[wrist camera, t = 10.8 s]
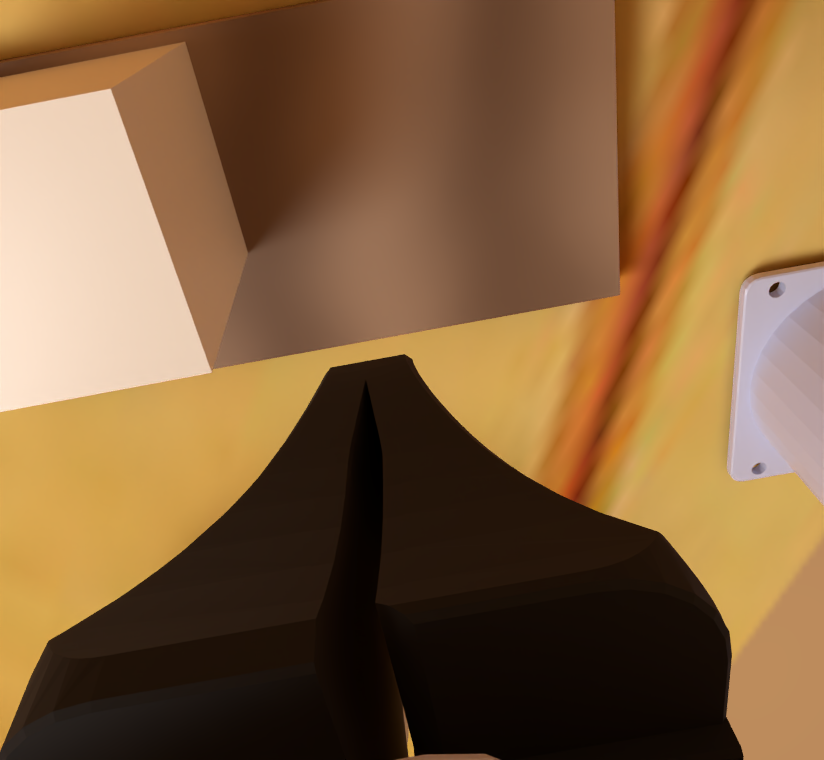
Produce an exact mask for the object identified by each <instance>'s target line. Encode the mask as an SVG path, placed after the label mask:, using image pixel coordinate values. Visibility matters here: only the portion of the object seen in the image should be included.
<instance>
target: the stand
mask: <svg viewBox="0 0 824 760" xmlns="http://www.w3.org/2000/svg"><path fill="white" fill-rule="evenodd" d="M181 42H185V43H186V46H187V50H188V53H189V56H190V60H191V63H192V66H193V70H194V73H195V77H196V80H197V83H198V87H199V90H200V93H201V97H202V100H203V103H204V107H205V110H206V113H207V117H208V120H209V124H210V127H211V130H212V134H213V137H214V140H215V144H216V147H217V150H218V154H219V157H220V161H221V164H222V167H223V171H224V174H225V177H226V181H227V184H228V187H229V191H230V194H231V197H232V201H233V204H234V208H235V211H236V214H237V218H238V221H239V224H240V228H241V231H242V234H243V238H244V241H245V245H246V248H247V251H248V255H247V258H246V262H245V265H244V268H243V271H242V275H241V278H240V281H239V285H238V288H237V291H236V295H235V298H234V301H233V304H232V308H231V311H230V314H229V318H228V321H227V324H226V327H225V331H224V334H223V337H222V341H221V344H220V347H219V350H218V354H217V357H216V360H215V364H214V367H213V369H216V368H222V367H227V366H233V365H238V364H244V363H249V362H255V361H260V360H266V359H271V358H277V357H282V356H288V355H293V354H299V353H304V352H309V351H315V350H320V349H326V348H331V347H337V346H342V345H348V344H353V343H359V342H364V341H370V340H375V339H381V338H386V337H392V336H397V335H403V334H408V333H414V332H419V331H425V330H430V329H436V328H441V327H447V326H452V325H458V324H463V323H469V322H474V321H480V320H485V319H491V318H496V317H502V316H507V315H513V314H518V313H524V312H529V311H535V310H540V309H546V308H551V307H557V306H562V305H568V304H573V303H579V302H584V301H590V300H595V299H601V298H606V297H612V296H617V295H620V271H619V216H618V160H617V105H616V49H615V0H319V1H314V2H308V3H303V4H298V5H293V6H287V7H282V8H277V9H271V10H266V11H261V12H255V13H250V14H245V15H239V16H234V17H229V18H223V19H218V20H213V21H207V22H202V23H197V24H192V25H186V26H181V27H176V28H170V29H165V30H160V31H154V32H149V33H144V34H138V35H133V36H128V37H122V38H117V39H112V40H106V41H101V42H96V43H91V44H85V45H80V46H75V47H69V48H64V49H59V50H53V51H48V52H43V53H37V54H32V55H27V56H21V57H16V58H11V59H6V60H0V77H5V76H10V75H15V74H20V73H25V72H31V71H36V70H41V69H46V68H51V67H57V66H62V65H67V64H72V63H77V62H82V61H88V60H93V59H98V58H103V57H108V56H114V55H119V54H124V53H129V52H134V51H139V50H145V49H150V48H155V47H160V46H165V45H170V44H176V43H181Z"/></svg>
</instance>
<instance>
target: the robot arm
mask: <svg viewBox="0 0 824 760" xmlns="http://www.w3.org/2000/svg"><path fill="white" fill-rule="evenodd" d="M777 282H779V286H778V288H777V289H776V290H775V291H773V292H769V289H770V287H771V286H772V285H773V284H774V283H777ZM758 463H760V464H759V465H758V466H756V467H754V468H753V466H754V465H755V464H758ZM727 471H728V473H729V474H730V476H731V477H732V478H733V479H734V480H736V481H747V480H753V479H758V478H764V477H770V476H775V475H781V474H786V473H792V472H795V473H796V474H797V475H798V476H799V477H800V479H801V480H802V481H803V482H804V483H805V484H806V486H807V487H808V488H809V489H810V490H811V492H812V493H813V494H814V495H815V496H816V497H817V499H818V500H819V501H820V502H821V503H822V504H823V506H824V261H823V262H817V263H812V264H806V265H801V266H795V267H790V268H784V269H779V270H773V271H768V272H762V273H757V274H754V275H751V276H750V277H748V278H747V279H746V280H745V281H744V282H743V284H742V285H741V289H740V296H739V309H738V323H737V337H736V350H735V364H734V378H733V391H732V405H731V418H730V432H729V446H728V459H727ZM731 658H732V652H731V643H730V634H729V630H728V629H727V627H726V625H725V623H724V621H723V619H722V617H721V614H720V612H719V611H718V609H717V607H716V605H715V604H714V602H713V600H712V598H711V597H710V595H709V594H708V592H707V591H706V589H705V588H704V587H703V585H702V584H701V582H700V581H699V580H698V578H697V577H696V576H695V574H694V573H693V572H692V571H691V569H690V568H689V567H688V565H687V564H686V563H685V561H684V560H683V559H682V558H681V557H680V555H679V554H678V553H677V552H676V550H675V549H674V548H673V547H672V546H671V544H670V543H669V542H668V541H667V540H666V538H665V537H664V536H663V535H662V534H661V533H659V532H657V531H654V530H651V529H648V528H645V527H642V526H639V525H636V524H633V523H630V522H627V521H624V520H621V519H618V518H615V517H612V516H609V515H606V514H603V513H600V512H598V511H595V510H593V509H590V508H588V507H586V506H583V505H581V504H579V503H577V502H574V501H572V500H570V499H567V498H565V497H563V496H561V495H559V494H557V493H555V492H553V491H551V490H550V489H548V488H546V487H544V486H542V485H541V484H539V483H537V482H535V481H534V480H532V479H530V478H528V477H526V476H525V475H523V474H522V473H520V472H519V471H517V470H516V469H514V468H513V467H511V466H510V465H508V464H507V463H506V462H504V461H503V460H502V459H500V458H499V457H498V456H496V455H495V454H494V453H492V452H491V451H490V450H489V449H487V448H486V447H485V446H484V445H483V444H481V443H480V442H479V441H478V440H477V439H476V438H475V437H474V436H472V435H471V434H470V433H469V432H468V431H467V430H466V429H465V428H464V427H463V426H462V425H461V424H460V423H459V422H458V421H457V420H456V419H455V418H454V417H453V416H452V415H451V414H450V413H449V412H448V410H447V409H446V408H445V407H444V406H443V405H442V404H441V403H440V401H439V400H438V399H437V398H436V397H435V396H434V394H433V393H432V392H431V390H430V389H429V388H428V386H427V385H426V384H425V382H424V381H423V379H422V378H421V376H420V375H419V373H418V371H417V370H416V368H415V366H414V363H413V360H412V359H411V358H409V357H408V356H406V355H405V354H403V355H398V356H392V357H387V358H381V359H376V360H370V361H365V362H359V363H354V364H348V365H343V366H337V367H332V368H330V369H329V371H328V372H327V373H326V375H325V376H324V378H323V380H322V382H321V384H320V385H319V387H318V389H317V391H316V393H315V394H314V396H313V398H312V400H311V401H310V403H309V405H308V407H307V408H306V410H305V412H304V413H303V415H302V416H301V418H300V420H299V421H298V423H297V424H296V426H295V427H294V429H293V431H292V432H291V434H290V435H289V437H288V438H287V440H286V441H285V443H284V444H283V445H282V447H281V448H280V450H279V451H278V452H277V454H276V455H275V456H274V458H273V459H272V460H271V462H270V463H269V464H268V466H267V467H266V468H265V470H264V471H263V472H262V474H261V475H260V476H259V477H258V479H257V480H256V481H255V482H254V483H253V484H252V486H251V487H250V488H249V489H248V490H247V491H246V492H245V493H244V494H243V495H242V496H241V497H240V498H239V499H238V501H237V502H236V503H235V504H234V505H233V506H232V507H231V508H230V509H229V510H228V511H227V512H226V513H225V514H224V515H223V516H222V517H221V518H219V519H218V520H217V521H216V522H215V523H214V524H213V525H212V526H210V527H209V528H208V529H207V530H206V531H205V532H204V533H203V534H202V535H200V536H199V537H198V538H197V539H196V540H195V541H194V542H193V543H191V544H190V545H189V546H188V547H187V548H186V549H185V550H183V551H182V552H181V553H180V554H179V555H177V556H176V557H175V558H173V559H172V560H171V561H170V562H168V563H167V564H166V565H164V566H163V567H162V568H161V569H159V570H158V571H157V572H155V573H154V574H152V575H151V576H150V577H148V578H147V579H145V580H144V581H143V582H141V583H140V584H138V585H137V586H136V587H134V588H133V589H131V590H130V591H129V592H127V593H126V594H124V595H123V596H121V597H120V598H118V599H117V600H115V601H114V602H112V603H110V604H109V605H107V606H105V607H104V608H102V609H101V610H99V611H97V612H96V613H94V614H92V615H91V616H89V617H88V618H86V619H84V620H83V621H81V622H79V623H78V624H76V625H75V626H73V627H71V628H70V629H68V630H67V631H65V632H63V633H61V634H60V635H58V636H56V637H54V638H53V639H51V640H49V641H48V643H47V645H46V647H45V649H44V651H43V653H42V655H41V657H40V659H39V661H38V663H37V665H36V667H35V669H34V671H33V673H32V675H31V678H30V680H29V682H28V685H27V687H26V690H25V692H24V695H23V697H22V700H21V702H20V705H19V707H18V710H17V712H16V715H15V717H14V720H13V722H12V724H11V727H10V729H9V732H8V734H7V736H6V739H5V741H4V744H3V746H2V749H1V751H0V760H743V753H742V749H741V746H740V744H739V742H738V740H737V738H736V736H735V734H734V732H733V730H732V728H731V726H730V724H729V721H728V719H727V717H726V711H727V701H728V689H729V680H730V669H731ZM403 708H404V712H405V716H406V719H407V723H408V727H409V731H410V734H411V738H412V742H413V746H414V755H415V756H414V757H408V749H407V740H406V731H405V722H404V713H403Z"/></svg>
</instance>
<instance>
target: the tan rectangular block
mask: <svg viewBox="0 0 824 760" xmlns="http://www.w3.org/2000/svg"><path fill="white" fill-rule="evenodd" d="M247 255H248V251H247V248H246V245H245V241H244V238H243V234H242V231H241V228H240V224H239V221H238V218H237V214H236V211H235V208H234V204H233V201H232V197H231V194H230V191H229V187H228V184H227V181H226V177H225V174H224V171H223V167H222V164H221V161H220V157H219V154H218V150H217V147H216V144H215V140H214V137H213V134H212V130H211V127H210V124H209V120H208V117H207V113H206V110H205V107H204V103H203V100H202V97H201V93H200V90H199V87H198V83H197V80H196V77H195V73H194V70H193V66H192V63H191V60H190V56H189V53H188V50H187V46H186V43H185V42H181V43H176V44H170V45H165V46H160V47H155V48H150V49H145V50H139V51H134V52H129V53H124V54H119V55H114V56H108V57H103V58H98V59H93V60H88V61H82V62H77V63H72V64H67V65H62V66H57V67H51V68H46V69H41V70H36V71H31V72H25V73H20V74H15V75H10V76H5V77H0V412H3V411H8V410H14V409H19V408H24V407H30V406H35V405H40V404H46V403H51V402H57V401H62V400H67V399H73V398H78V397H83V396H89V395H94V394H100V393H105V392H110V391H116V390H121V389H127V388H132V387H137V386H143V385H148V384H153V383H159V382H164V381H170V380H175V379H180V378H186V377H191V376H196V375H202V374H207V373H212V370H213V367H214V364H215V360H216V357H217V354H218V350H219V347H220V344H221V341H222V337H223V334H224V331H225V327H226V324H227V321H228V318H229V314H230V311H231V308H232V304H233V301H234V298H235V295H236V291H237V288H238V285H239V281H240V278H241V275H242V271H243V268H244V265H245V262H246V258H247Z"/></svg>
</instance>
